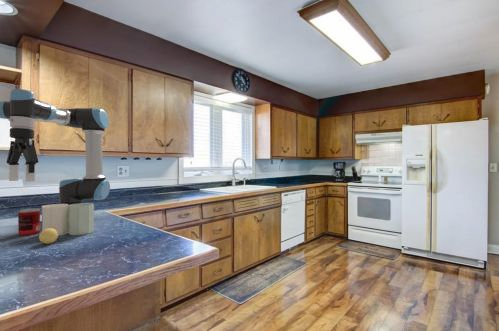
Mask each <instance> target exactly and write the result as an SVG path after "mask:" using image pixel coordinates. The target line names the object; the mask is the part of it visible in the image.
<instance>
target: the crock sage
mask: <svg viewBox="0 0 499 331" xmlns="http://www.w3.org/2000/svg"><path fill="white" fill-rule="evenodd" d="M94 231H95V204H94V203H92V202H83V203H79V204H72V205H68V233H67V234H68V235H69V236H82V235H83V236H84V235H88V234H93V233H94Z"/></svg>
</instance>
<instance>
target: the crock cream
mask: <svg viewBox="0 0 499 331" xmlns="http://www.w3.org/2000/svg"><path fill="white" fill-rule="evenodd" d="M48 228H52V229H55V230H56V231H57V233H58V237H59V236H64V235H67V234H69V233H68V204H59V203H56V204H55V203H54V204H46V205H41V232H42V231H43V230H45V229H48Z"/></svg>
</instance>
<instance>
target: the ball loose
mask: <svg viewBox="0 0 499 331" xmlns="http://www.w3.org/2000/svg"><path fill="white" fill-rule="evenodd" d="M58 237H59V236H58V233H57V231H56V230H55V229H52V228H48V229H45V230H43V231H42V230H41V231H40V232H39V235H38V238H39V241H40V242H41V243H43V244H47V245H49V244H53V243H55V241H57V239H58Z"/></svg>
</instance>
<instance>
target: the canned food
mask: <svg viewBox="0 0 499 331" xmlns="http://www.w3.org/2000/svg"><path fill="white" fill-rule="evenodd" d="M40 209H41V208H35V207H34V208H23V209H19V210H18V211H17V212H18V213H17V214H18V216H17V217H18V218H17V219H18V220H17V221H18V224H17V225H18V227H17V228H18V230H17V232H18V235H19V236H21V237H25V236H26V237H27V236H34V235H38V234H40V233H41V210H40Z"/></svg>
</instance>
